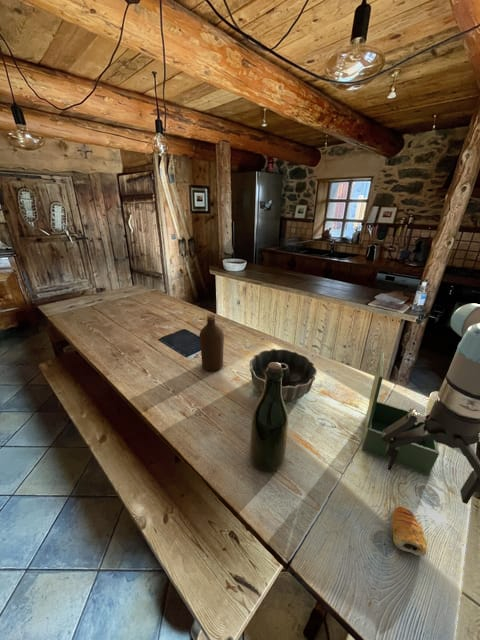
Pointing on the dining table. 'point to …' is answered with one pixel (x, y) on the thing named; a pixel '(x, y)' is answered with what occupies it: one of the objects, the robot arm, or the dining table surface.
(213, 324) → the olive oil
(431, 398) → the white cup
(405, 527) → the pastry
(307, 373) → the bundt pan
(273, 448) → the beer bottle
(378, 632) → the dining table surface
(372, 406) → the bin lid
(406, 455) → the bin
